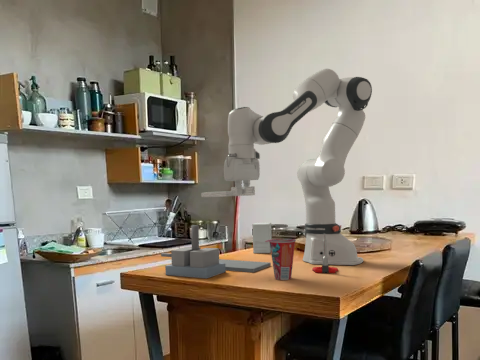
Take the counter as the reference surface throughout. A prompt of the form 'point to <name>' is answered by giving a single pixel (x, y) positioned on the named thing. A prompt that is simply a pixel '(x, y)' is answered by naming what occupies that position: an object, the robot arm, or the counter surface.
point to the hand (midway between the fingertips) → (243, 193)
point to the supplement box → (261, 237)
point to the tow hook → (325, 261)
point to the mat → (244, 265)
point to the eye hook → (230, 192)
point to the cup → (282, 257)
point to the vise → (194, 260)
